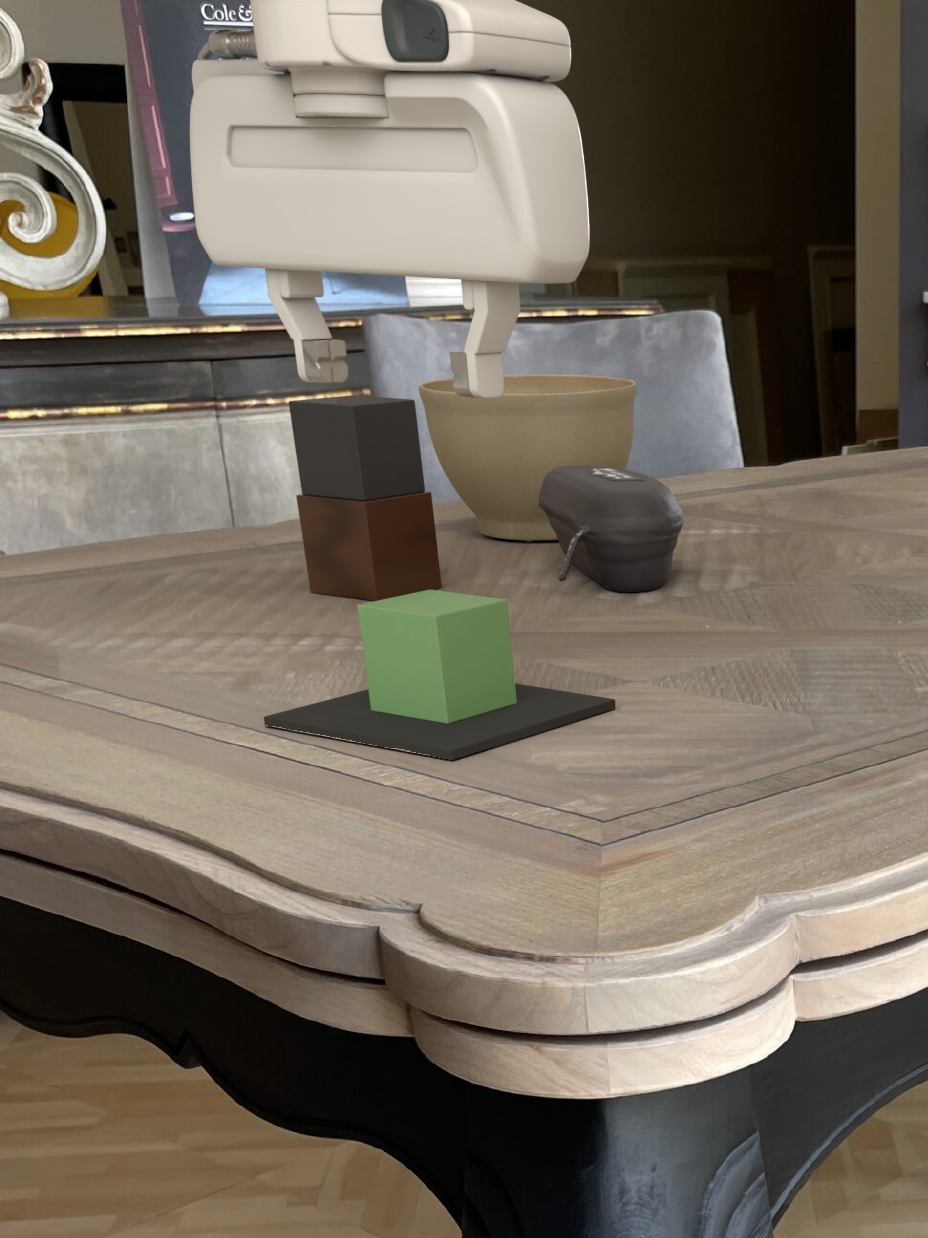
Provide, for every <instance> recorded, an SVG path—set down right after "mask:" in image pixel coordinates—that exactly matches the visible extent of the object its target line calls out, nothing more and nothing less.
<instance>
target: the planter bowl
mask: <svg viewBox="0 0 928 1238" xmlns="http://www.w3.org/2000/svg"><path fill="white" fill-rule="evenodd" d="M452 380H453V377H448V378H440V379H432V380H428V381H427V380H426V381H423V382H421V383H419V384H418V393H419V397H420V399H421V400H420V401H421V403H422V405H423V407H424V413H425V419H426V425H427V429H428V433H429V437H430V440H431V443H432V446H433V449H434V452H435V454H436V455H435V456H436V458H437V460H438V463H439V464H440V466H441V468H442V471H443V472H444V474H445V477H447V480H448V481H449V483H450V484H451V486H452V487H453V488H454V490H455V492H456V494H458V496H459V498H461V500H462V501H463V503H464V504H465V505H466V507H467V508H468V509H469V510H470V511H471V512H472V513H473V514H474V516H475V518H476V521H477V526H478V529H479V532H480V533H481V535H484V536H486V537H490V538H495V539H501V540H511V541H525V542H526V543H532V542H533V541H559V540H558V538H557V535H556V533H555V531H554V530H553V528H552V527H551V525H550V522H549V520H548V517H547V515H546V513H545V512H544V510H543V509H542V508H540V507H539V504H538V503H539V492H540V491H541V487H542V484H543V480H544V478H545V476H546V475H547V474H548V473H549V472H550V471H551V470H553V469H554V468H557V467H563V466H601V467H610V468H618V469H624V470H627V468H628V464H629V460H630V456H631V451H632V445H633V438H634V429H635V427H634V426H635V411H634V410H635V409H634V405H635V399H636V394H637V383H636V381H634V380H632V379H628V378H627V379H626V378H621V377H620V378H619V377H614V376H603V375H590V374H589V375H588V374H563V373H561V374H552V373H551V374H550V373H549V374H548V373H546V374H545V373H541V374H539V373H538V374H536V373H535V374H534V373H531V374H530V373H529V374H528V373H527V374H504V392H503V394H502V396H500V397H494V398H475V397H466V396H458V395H457V394H456V393H455V391H454V388H453V383H452Z"/></svg>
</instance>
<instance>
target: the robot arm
mask: <svg viewBox="0 0 928 1238" xmlns="http://www.w3.org/2000/svg"><path fill="white" fill-rule="evenodd" d="M249 4H250V10H251V20H252V27H253V29H250V30H243V31H240V30H238V29H234V28H233V29H232V28H221V29H218V30H215V31H213V32H211V33H210V34H209V35H208V38H207V43H205V44H204V45H203V47H202V48H201V49H200V51H199V53H198V55H197V58H196V60H194V61H193V63H192V66H191V80H192V81H191V82H192V89H193V95H192V98H191V103H190V112H189V154H190V172H191V189H192V200H193V212H194V221H195V228H196V234H197V237H198V241H199V242H200V243H201V246H202V247H203V249H204V250H205V252H206V254H207V256H208V257H209V259H210V261H212V263H213V264H214V265H215V266H219V267H230V268H231V267H233V268H251V269H264V273H265V279H266V281H265V282H266V288H267V296H268V299H269V301H270V303H271V304H272V306H273V308H274V310H275V311H276V314H277V316H278V318H279V319H280V321H281V322H282V325H283V326H284V328H285V330H286V332H287V333H288V335H289V338H290V339H291V340H293V346H294V352H295V353H294V354H295V362H296V368H297V374H298V376H299V378H300V380H301V381H303V382H305V383H311V384H312V383H313V384H325V385H327V384H329V385H331V384H342V383H346V381H347V380H348V378H349V366H348V364H347V362H346V359H347V357H348V355H347V347H346V340H342V339H333V337H332V334H331V332H330V329H329V327H328V324H327V322H326V320H325V317H324V315H323V313H322V311H321V309H320V306H319V304H318V302H317V299H316V298H323V297H324V296H325V292H324V291H325V290H324V283H323V282H324V281H323V273H340V274H356V275H357V274H358V275H375V276H389V277H390V276H392V277H411V278H425V279H426V278H427V279H428V278H430V279H445V280H460V282H461V295H462V304H463V305H462V307H463V308H464V309H465V310H468V311H474V312H473V315H472V317H471V322H470V327H469V330H468V334H467V338H466V341H465V345H464V348H463V351H454V352H453V351H451V352H449V359H450V370H451V371H452V373H453V377H452V378H453V380H452V383H453V388H454V391H455V393H456V394H457V395H458V396H466V397H475V398H494V397H500V396H502V394H503V392H504V375H505V374H504V360H503V359H504V358H503V353H505V351H506V349H507V347H508V344H509V341H510V339H511V336H512V334H513V331H514V328H515V326H516V323H517V321H518V318H519V316H520V313H521V298H520V297H521V296H520V284H543V285H545V284H549V285H553V284H554V285H555V284H570V283H574V282H575V281H576V280H577V278H578V277H579V275H580V273H581V271H582V269H583V267H584V265H585V263H586V261H587V259H588V257H589V254H590V253H589V252H590V237H591V236H590V213H589V197H588V187H587V176H586V166H585V165H586V164H585V156H584V149H583V148H584V147H583V142H582V135H581V129H580V125H579V122H578V121H579V120H578V118H577V115H576V112H575V109H574V107H573V105H572V103H571V102H570V99H569V98H568V96H567V95H566V93H564V91H563V90H562V89H561V88H560V87H558V86H556V84H553V83H552V82H559V81H562V80H564V79H565V78H566V77H567V76H568V75H569V73H570V69H571V64H572V48H571V45H572V44H571V38H570V33H569V29H568V28H567V26H566V25H565V23H563V21H562V20H560V19H557V18H556V17H554V16H553V15H550V14H547V13H545V12H542V11H540V10H538V9H536V8H534V7H532V6H529V5H527V4H524V3H522V2H520V1H517V0H249ZM212 55H213V56H214V57H215V58H218V59H210V57H211V56H212Z"/></svg>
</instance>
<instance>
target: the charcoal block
mask: <svg viewBox="0 0 928 1238" xmlns="http://www.w3.org/2000/svg"><path fill="white" fill-rule="evenodd" d="M288 408H289V414H290V420H291V421H290V422H291V428H292V434H293V435H292V436H293V442H294V449H295V456H296V462H297V463H296V464H297V468H298V469H297V470H298V475H299V484H300V488H301V489H300V490H301V494H303V495H311V496H320V497H330V498H340V499H350V500H360V501H368V500H374V499H381V498H388V497H394V496H401V495H407V494H414V493H420V492H425V491H426V485H425V477H424V469H423V468H424V467H423V460H422V451H421V442H420V433H419V426H418V425H419V424H418V417H417V409H416V401H415V399H411V398H410V399H409V398H395V397H394V398H392V397H383V396H382V397H381V396H368V395H342V396H341V395H340V396H331V397H330V396H329V397H320V398H309V399H299V400H298V399H297V400H289V401H288Z"/></svg>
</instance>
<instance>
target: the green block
mask: <svg viewBox="0 0 928 1238" xmlns="http://www.w3.org/2000/svg"><path fill="white" fill-rule="evenodd" d="M356 607H357V608H356V609H357V615H358V624H359V630H360V638H361V645H362V646H361V647H362V653H363V661H364V667H365V668H364V669H365V674H366V683H367V689H368V690H369V698H370V705H371V710H372V711H376V712H381V713H387V714H393V715H399V716H405V717H410V718H416V719H422V720H428V721H434V722H439V723H445V724H449V723H453V722H456V721H459V720H463V719H466V718H470V717H473V716H476V715H480V714H483V713H487V712H490V711H493V710H497V709H500V708H503V707H507V706H510V705H514V704H516V703H517V699H516V689H515V684H516V680H515V679H516V677H515V669H514V657H513V648H512V639H511V626H510V618H509V617H510V616H509V607H508V599H505V598H497V597H489V596H483V595H474V594H468V593H461V592H453V591H452V592H451V591H445V590H437V589H433V590H426V591H421V592H416V593H412V594H407V595H402V596H397V597H393V598H388V599H383V600H378V601H369V602H364V603H360V604H357V605H356Z"/></svg>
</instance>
